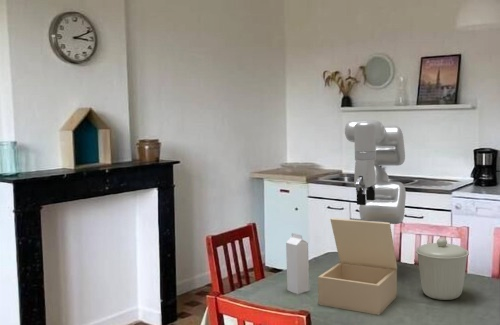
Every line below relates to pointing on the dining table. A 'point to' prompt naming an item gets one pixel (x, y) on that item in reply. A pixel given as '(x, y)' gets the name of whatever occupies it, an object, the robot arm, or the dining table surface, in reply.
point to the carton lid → (364, 242)
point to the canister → (442, 269)
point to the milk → (297, 264)
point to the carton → (357, 287)
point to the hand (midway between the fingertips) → (366, 202)
